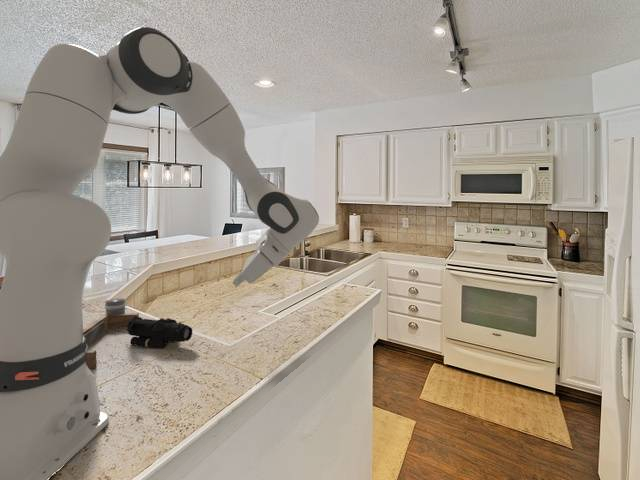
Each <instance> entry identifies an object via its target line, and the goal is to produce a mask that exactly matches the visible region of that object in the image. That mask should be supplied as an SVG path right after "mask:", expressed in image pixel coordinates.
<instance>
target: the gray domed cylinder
mask: <svg viewBox="0 0 640 480" xmlns="http://www.w3.org/2000/svg"><path fill="white" fill-rule="evenodd" d="M126 304H127V303H126V300H125V298H123V297H122V298H110V299H107V300H105V304H104V309H105V314H126V306H127V305H126Z"/></svg>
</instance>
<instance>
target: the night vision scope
mask: <svg viewBox="0 0 640 480" xmlns="http://www.w3.org/2000/svg"><path fill="white" fill-rule="evenodd" d="M127 327H128V328H126V330H127V333H128V335H130V336H133V337H131V339H130V341H129V342H130V343H129V344H130V345H132V346H138V347H144V348H151V349H158V350H160V349H163V350H164V349H165V347H166V345H167V344H168V343H169V342H170V343H174V342H175V343H181V342H188V341H189V340H191V338H192V336H193V328H192V327H191V326H189V325H187V324H184V323H182V321H181V322H180V321H179V322H177V321H176V320H175V319H172V318H167V317H166V318H163V317H160V318H159V319H157V320H156V319H148V318H142V317H140V316H139V317H137V315H135V317H134V318H133V320H132V321H129V324H128V325H127Z"/></svg>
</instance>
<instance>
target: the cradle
mask: <svg viewBox="0 0 640 480" xmlns="http://www.w3.org/2000/svg"><path fill="white" fill-rule="evenodd" d="M135 315H137V317H140V315H139V313H125V314H106V313H105V314H104V315H102V316H100V317H99V318H97V319H96V320H94V321H93V322H92V323H90V324H89V325H87V326H85V327H83V336H84V337H85V338H86V344H87V346H88V345H89V344H91V343H92V342H93V341H95V340H96V339H97V338H99V336H101V335H102V334H103V333H105V332H106V331H107V330H108V329H128V327H127V325H128V324H129V321H132V320H133V318H134V317H135ZM97 360H98V359H97V350H95V349H94V350H93V349H92V350H87V360H86V361H85V363H86V365H87V366H88V368H89V370H90V371H91V370H92V371H93V370H95V369H96V368H97V366H98V365H97Z"/></svg>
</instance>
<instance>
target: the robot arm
mask: <svg viewBox="0 0 640 480" xmlns="http://www.w3.org/2000/svg"><path fill="white" fill-rule="evenodd" d="M161 103H162V104H163V105H166V106H168V107H169V108H170V109H172V110H174V112H175V113H176V114H177V115H178V116H179V117H180V119H181V120H182V122H183V123H184V125H185V126H186V127H187V129H188V130H189V132H190V133H191V134H192V135H193V136H194V138H195V139H196V140H197V141H198V143H199V144H200V145H201V146H203V148H204V149H206V151H207V152H208V153H210V154H211V155H213V156H214V157H216V158H218V159H219V160H220V161H221V162H223V163H224V164H225V166H226V167H228V169H229V170H230V171H231V173H232V175H233V176H234V177H235V179H236V180H237V182H238V183H239V185H240V186H241V188H242V190H243V192H244V196H245V201H246V205H247V206H248V209H249V210H250V211H251V212H252V213H254V215H255V216H256V217H257V219H258V220H259V221H260V222H261V223H262V224H264V225H265V226H268V228H269V229H268V230H266V231H265V233H263V234H262V235H261V236H260V237H259V238H258V239H257V240H256V245H257V246H256V247H255V248H254V252H253V253H252V254H251V255H250V256H248V257H247V259H245V262H244V264H243V267H242V270H241V271H240V272H239V274H237V276H236V277H235V278H234V279H233V281H232V285H234V286H235V287H239V286H240V285H241V284H242V283H244V282H245V281H246V282H247V283H248V284H253V283H255V282H256V281H258V280H259V279H260V278H261V277H262V276H263V275H265V274H266V273H267V272H268V271H269V270H271V269H272V268H273V267H274V266H275V267H278V266H279V264H281V263H282V262H283V261H284V260H285V259H286V258H287V257H288V256H289V255H290V254H291V253H292V252H293V250H294V249H295V248H296V246H297V245H300V244H301V243H304V240H306V239H307V238H308V237H309V236H310V234H312V233H313V231H314V230H316V227H317V226H318V225H319V223H320V216H319V213H318V212H317V210H316V208H315V207H314V206H313V204H312V203H311V202H310V201H309V200H307V199H302V198H297V197H295V196H292V195H290V194H288V193H286V192H284V191H283V190H281V189H280V188H278V186H276V185H275V184H274V183H273V182H272V181H270V180H269V179H267V178H265V177H264V175H262V174H261V172H260V171H259V170H260V169H258V167H257V165H256V164H255V163H254V161H253V159H252V158H251V157H250V154H249V153H248V151H247V148H246V144H245V138H246V130H245V128H244V126H243V122H242V120H241V119H240V116H239V115H238V112H237V110H236V109H235V107H234V106H233V104H232V103H231V101H230V99H229V98H228V96H227V95H226V94H225V92H224V91H223V90H222V88H221V87H220V86H219V84H218V83H217V82H216V80H215V79H214V78H213V77H212V76H211V74H209V72H208V71H207V70H206V69H205V68H204V67H203V66H202V65H201V64H199V63H197V62H195V61H189V59H188V57H187V56H186V55H185V54H184V53H183V51H182V50H181V48H180V47H179V46H178V44H177V43H176V42H175V41H174V40H173V39H171V37H169V36H167V35H166V34H165V33H163V32H162V31H160V30H158V29H156V28H152V27H147V26H145V27H143V26H142V27H137V28H134V29H132V30H130V31H128V32H127V33H126V34H124V35H123V36H122V37H121V38H120V41H119V42H117V43H116V44H115V45H114V46H113V47H112V48H111V49H110V50H108V52H107V53H106V54H105V55H102V54H101V55H100V54H96V53H94V52H93V51H90V50H89V49H87V48H84V46H83V47H82V46H80V45H76V44H72V43H58V44H57V45H53V46H51V47H50V48H49V49H48V50H47V51H46V53H45V54H44V56H43V57H42V58H41V61H40V62H39V64H38V65H37V66H36V68H35V70H34V72H33V75H32V76H31V79H30V81H29V83H28V86H27V88H26V91H25V94H24V97H23V99H22V103H21V105H20V106H21V107H20V109H19V113H18V115H17V118H16V121H15V123H14V126H13V130H12V132H11V135H10V138H9V140H8V142H7V144H6V146H5V148H4V150H3V152H2V154H1V155H0V258H2V259H5V262H6V263H5V271H4V275H3V278H2V283H1V286H0V480H47V479H48V478H49V477H50V476H51V475H52V474H53V473H54V472H56V471H57V470H58V469H60V468H61V467H62V466H63V465H65V464H66V463H67V462H68V461H69V460H70V459H71V458H72V457H73V456H74V455H75V454H76V453H77V452H78V451H79V450H80V449H81V450H83V449H84V448H85V446H86V445H88V443H89V442H91V441H92V440H93V439H94V437H96V436H97V435H98V434H99V433H100V432H101V431H102V430H103V429H104V428H105V427H106V426H107V425H108V424H109V421H110V420H109V416H108V414H106V413H105V412H103V411H101V405H100V396H99V392H98V391H99V390H98V383H97V378H96V376H95V374H94V373H93V372H92V371H91V370H89V368H88V366H87V365H86V363H85V361H86V360H87V350H88V349H89V347H88V345H87V344H86V338H85V337H84V336H83V329H84V326H83V319H84V318H83V317H84V316H83V295H84V291H85V285H86V281H87V277H88V275H89V272H90V269H91V267H92V265H93V263H94V261H95V260H96V259H97V258H98V257H99V256H100V255H101V254H102V253H104V252H105V250H106V249H107V246H108V245H109V243H110V239H111V237H112V225H111V221H110V218H109V216H108V215H107V213H106V211H105V210H104V209H103V208H102V207H101V206H100V205H98V204H97V203H96V202H93V201H92V200H89V199H86V198H84V197H82V196H79V195H75V194H74V192H75V190H76V189H77V188H78V186H79V185H80V184H81V183H82V181H84V179H86V178H87V177H88V176H89V175H91V174H92V173H93V172H94V171H95V169H96V167H97V166H98V163H99V158H100V156H101V151H102V148H103V145H104V141H105V138H106V133H107V129H108V127H109V126H108V125H109V123H110V122H109V121H110V117H111V113H112V111H116V112H118V113H122V114H126V115H127V114H128V115H136V114H142V113H145V112H147V111H148V110H150V109H152V108H153V107H155V106H157V105H159V104H161ZM81 450H80V451H81ZM80 451H79V452H80ZM79 452H78V453H79ZM78 453H77V454H78ZM77 454H76V455H77ZM76 455H75V456H76ZM75 456H74V457H75ZM74 457H73V458H74ZM73 458H72V459H73ZM72 459H71V460H72ZM71 460H70V461H71ZM70 461H69V462H70ZM69 462H68V463H69ZM68 463H67V464H68ZM67 464H66V465H67ZM66 465H65V466H66Z"/></svg>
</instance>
